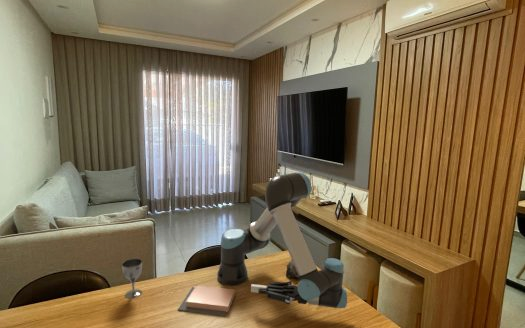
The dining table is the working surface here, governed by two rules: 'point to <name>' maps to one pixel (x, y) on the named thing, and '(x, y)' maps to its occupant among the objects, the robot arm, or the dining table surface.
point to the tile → (211, 298)
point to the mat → (198, 310)
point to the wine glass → (132, 275)
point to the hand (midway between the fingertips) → (251, 288)
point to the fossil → (291, 270)
